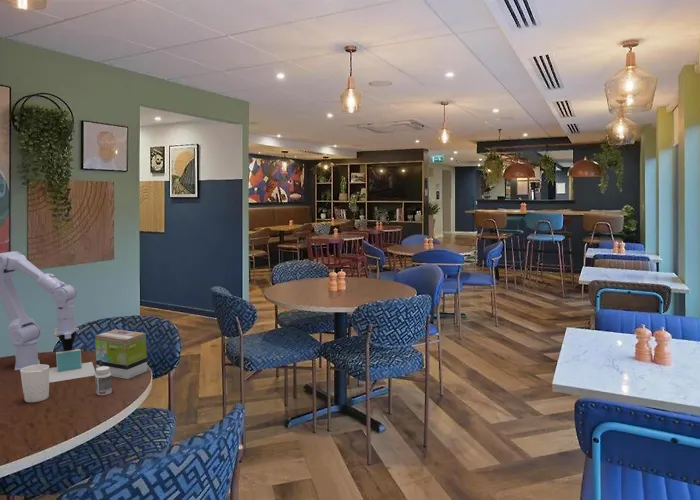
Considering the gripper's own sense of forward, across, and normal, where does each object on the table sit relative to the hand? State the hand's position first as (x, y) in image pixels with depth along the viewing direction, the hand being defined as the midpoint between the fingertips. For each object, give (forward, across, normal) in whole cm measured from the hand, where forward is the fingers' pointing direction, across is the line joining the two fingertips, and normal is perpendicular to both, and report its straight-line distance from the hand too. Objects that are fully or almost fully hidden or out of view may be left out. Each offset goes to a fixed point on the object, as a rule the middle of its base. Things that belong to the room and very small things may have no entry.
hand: (68, 353), depth 200 cm
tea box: (+6, -18, -16) cm, 25 cm away
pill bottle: (+6, -36, -8) cm, 38 cm away
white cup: (+6, -30, +11) cm, 32 cm away
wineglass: (+6, +16, 0) cm, 17 cm away
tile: (+5, -4, 0) cm, 7 cm away
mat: (+5, -7, 0) cm, 9 cm away
